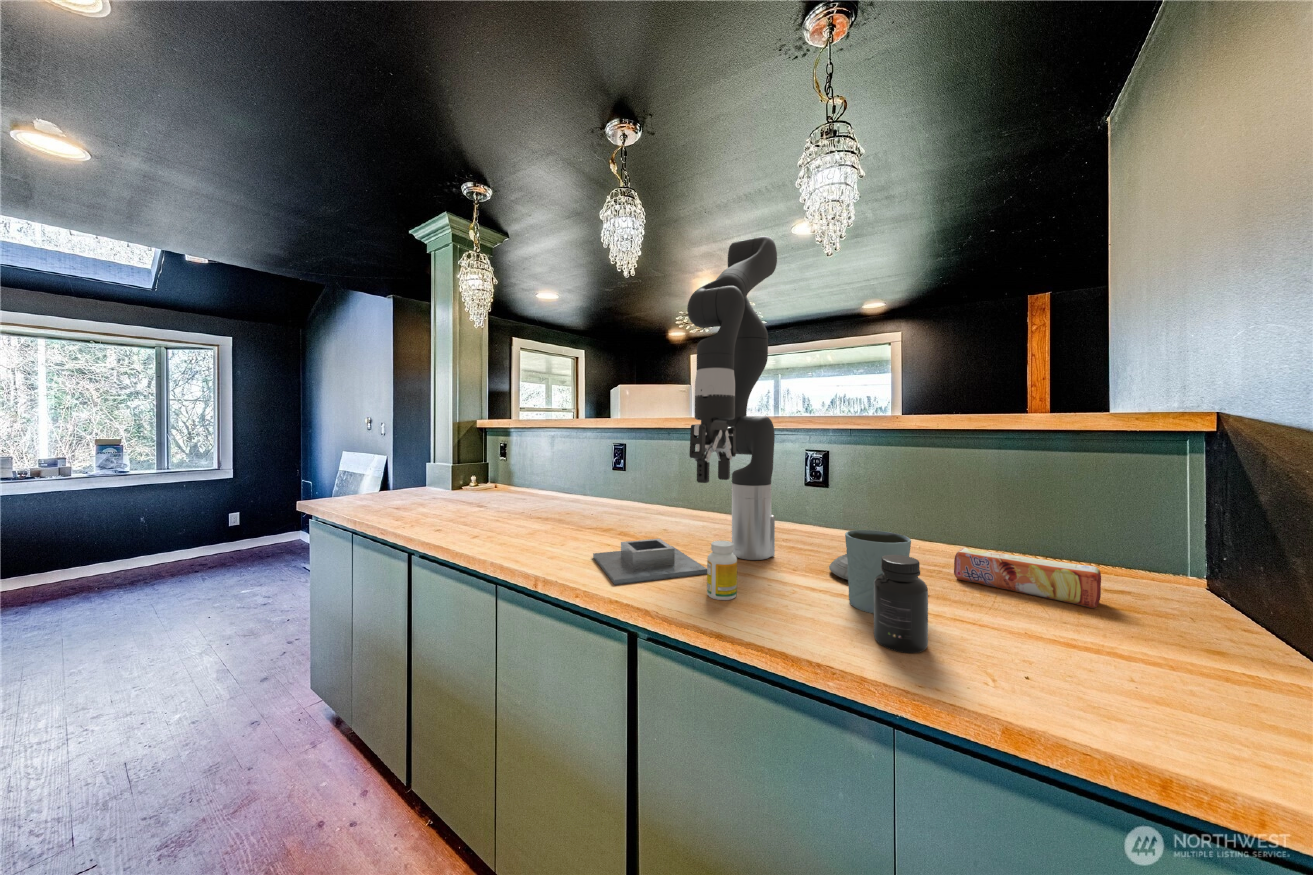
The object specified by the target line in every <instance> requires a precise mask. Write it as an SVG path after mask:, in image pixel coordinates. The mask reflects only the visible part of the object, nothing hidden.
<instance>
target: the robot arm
mask: <svg viewBox="0 0 1313 875" xmlns="http://www.w3.org/2000/svg"><path fill="white" fill-rule="evenodd" d="M775 243H776V242H775V241H774V239H772V237H770V236H766V235H764V236H756V237H751V238H747V239H741V240H737V241H736V240H735V241H733V242H732V243H731V244H730V245H729V248H728V252H727V268H726V269H725V270H723V271H722V272H721V273H720V274H719V275H718V276H717V278H715V280H713V281H711V282H708V283H706V284H705V285H703V286H700V287H699V288H697V289H696V290H694V292H693V293H692V294H691V296H690V297H689V300H688V302H687V306H686V307H687V308H686V309H687V316H688V320H690V322H691V324H693V326H695V327H697V328H700V329H708V328H709V329H710V328H718V327H719V329H718V331H717V332H716V333H715V334H713V335H711V336H710V337H709V336H708V337H706V338H704V339H701V340H700V341H698V342H697V345H696V346H697V347H696V371H695V372H696V374H695V380H694V419H695V420H697V421H700V423H697V424H691V425H690V434H689V436H690V438H689V455H688V456H689V458H690V459H694V461H695V462H696V482H697V483H699V484H701V483H702V484H707V483H709V482H710V459H711V457H712V454H713V453H716V456H717V458H718V460H717V461H718V462H717V478H718V480H722V481H727V480H729V479H730V478H731V542H732V543H733V545H734V550H733V552H732V553H733V554H734V555H735V556H736V558H737V559H742V560H749V561H760V560H761V561H763V560H767V559H770V558H771V557H775V556H776V555H775V554H776V553H775V552H776V549H775V548H776V546H775V545H776V544H775V541H776V538H775V534H776V524H775V523H776V517H775V515H773V514H772V476H773V472H774V471H773V470H774V455H775V453H774V452H775V438H776V435H775V425H774V423H773V421H772V420H771V419H770V417H769V416H765V415H754V416H753V415H751V416H750V415H747V412H748V411H747V410H748V403H749V399H750V395H751V393H752V390H753V389H754V387H755V386H756V384H757V382H758V380H759V379H760V378H761V375H762V374H763V372H764V370H765V368H766V366H767V363H768V358H769V334H768V330H767V328H766V325H765V324H764V322H763V321H762V319H761V318H760V317H759V315H758V313H757V312H756V311H755V309H754V308H753V306H752V304H751V302H750V301H749V297H748V295H749V293H750V292H751V291H752V290H753V289H754V288H755V287H757V285H758V286H759V284H760V283H761V282H763V281H765V279H767V278H769V277H770V276H772V275H773V274H774V273H775V271H776V268H777V264H778V252H777V246H776V244H775ZM696 449H697V450H696ZM736 455H745V456H746V455H747V456H748V455H749V456H751V458H750V462H749V463H748V464H747V465H746V466H744V467H742V468H738V469H735V470H734V471H733V472H732V473H731V461H732V459H733V458H735V457H736ZM730 473H731V474H730ZM730 476H731V477H730Z"/></svg>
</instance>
